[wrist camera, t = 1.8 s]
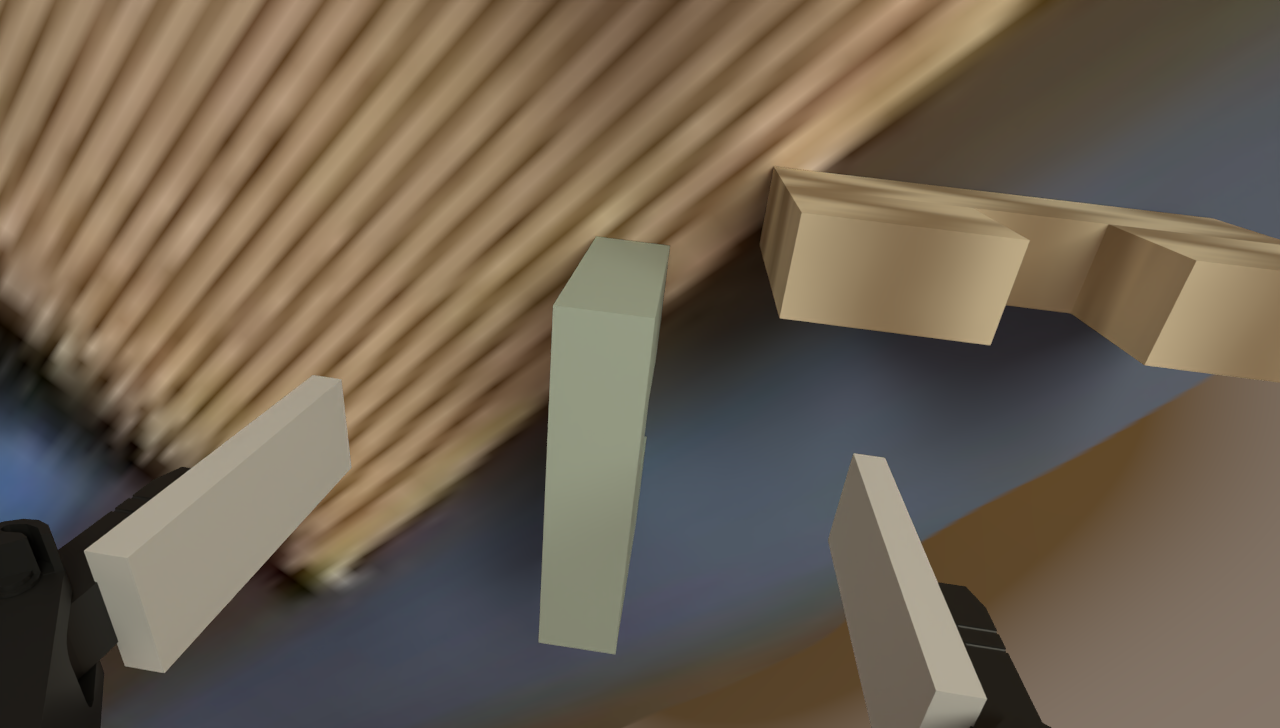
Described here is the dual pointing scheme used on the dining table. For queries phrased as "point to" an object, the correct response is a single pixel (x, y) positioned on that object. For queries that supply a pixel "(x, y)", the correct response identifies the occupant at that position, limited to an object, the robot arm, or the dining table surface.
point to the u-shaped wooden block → (1022, 269)
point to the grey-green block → (597, 437)
